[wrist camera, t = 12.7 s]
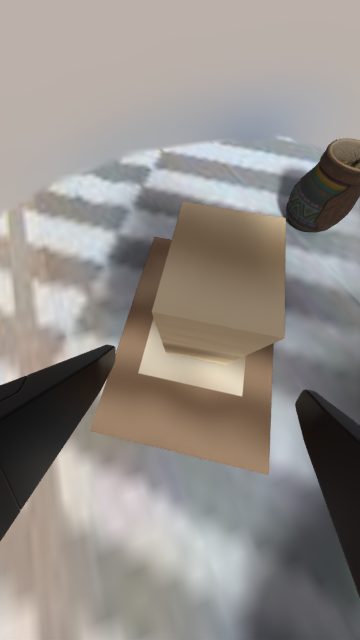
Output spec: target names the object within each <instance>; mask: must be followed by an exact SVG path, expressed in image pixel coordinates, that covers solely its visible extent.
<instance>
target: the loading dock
mask: <svg viewBox="0 0 360 640" xmlns="http://www.w3.org/2000/svg"><path fill="white" fill-rule="evenodd" d="M171 242H172V240H169V239H164V238H158V237H154V240H153V243H152V246H151V249H150V252H149V255H148V258H147V261H146V264H145V267H144V270H143V273H142V276H141V279H140V282H139V285H138V288H137V291H136V294H135V297H134V300H133V303H132V306H131V309H130V312H129V315H128V318H127V321H126V324H125V327H124V330H123V333H122V336H121V339H120V342H119V345H118V348H117V351H116V354H115V364H114V366H113V368H112V370H111V372H110V374H109V375H108V378H107V381H106V384H105V387H104V390H103V393H102V396H101V399H100V402H99V405H98V408H97V411H96V414H95V417H94V420H93V423H92V426H91V429H90V431H93V432H97V433H101V434H105V435H109V436H113V437H117V438H121V439H125V440H129V441H133V442H137V443H142V444H146V445H150V446H154V447H158V448H162V449H166V450H170V451H174V452H178V453H182V454H186V455H190V456H194V457H198V458H202V459H206V460H210V461H214V462H218V463H222V464H226V465H230V466H234V467H239V468H243V469H247V470H251V471H255V472H259V473H263V474H267V475H269V453H270V426H271V398H272V371H273V344H271V345H268V346H266V347H264V348H262V349H260V350H257V351H255V352H253V353H251V354H249V355H246V356H244V357H242V358H240V359H238V360H235V361H233V362H231V363H229V364H227V365H220V364H215V363H211V362H206V361H201V360H196V359H192V358H187V357H182V356H177V355H173V354H168V353H166V352H165V349H164V346H163V343H162V340H161V338H160V335H159V332H158V329H157V326H156V323H155V320H154V317H153V314H152V309H153V305H154V302H155V298H156V295H157V291H158V288H159V284H160V280H161V277H162V273H163V270H164V266H165V263H166V259H167V256H168V252H169V249H170V245H171Z"/></svg>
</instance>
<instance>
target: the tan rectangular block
mask: <svg viewBox="0 0 360 640" xmlns="http://www.w3.org/2000/svg"><path fill="white" fill-rule="evenodd" d="M285 243H286V218H282V217H276V216H270V215H263V214H257V213H251V212H245V211H239V210H232V209H226V208H220V207H214V206H208V205H201V204H195V203H189V202H183V203H182V206H181V210H180V213H179V217H178V220H177V224H176V227H175V231H174V235H173V238H172V242H171V245H170V249H169V252H168V256H167V259H166V263H165V266H164V270H163V273H162V277H161V280H160V284H159V288H158V291H157V295H156V298H155V302H154V305H153V309H152V314H153V317H154V320H155V323H156V326H157V329H158V332H159V335H160V338H161V340H162V343H163V346H164V349H165V352H166V353H168V354H173V355H177V356H182V357H187V358H192V359H196V360H201V361H206V362H211V363H215V364H220V365H227V364H229V363H231V362H233V361H235V360H238V359H240V358H242V357H244V356H246V355H249V354H251V353H253V352H255V351H257V350H260V349H262V348H264V347H266V346H268V345H271V344H273V343H275V342H277V341H279V340H282V339H284V332H285Z"/></svg>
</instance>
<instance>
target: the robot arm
mask: <svg viewBox="0 0 360 640" xmlns="http://www.w3.org/2000/svg"><path fill="white" fill-rule="evenodd" d="M114 364H115V347H114V346H111V345H104V346H102V347H99V348H97V349H94V350H91V351H89V352H86V353H84V354H81V355H78V356H76V357H73V358H71V359H68V360H66V361H63V362H60V363H58V364H55V365H53V366H50V367H47V368H45V369H42V370H40V371H37V372H34V373H32V374H29V375H28V376H24V377H21V378H19V379H16V380H14V381H11V382H8V383H5V384H3V385H0V541H1V540H2V538H3V537H4V535H5V534H6V532H7V531H8V529H9V528H10V526H11V525H12V523H13V522H14V520H15V519H16V517H17V516H18V514H19V513H20V511H21V510H20V509H22V508H23V506H24V505H25V503H26V502H27V500H28V499H29V497H30V496H31V494H32V493H33V491H34V490H35V488H36V487H37V485H38V484H39V482H40V481H41V479H42V478H43V476H44V475H45V473H46V472H47V470H48V469H49V467H50V466H51V464H52V463H53V461H54V460H55V458H56V457H57V455H58V454H59V452H60V451H61V449H62V448H63V446H64V445H65V443H66V442H67V440H68V439H69V437H70V436H71V434H72V433H73V431H74V430H75V428H76V427H77V425H78V424H79V422H80V421H81V419H82V418H83V416H84V415H85V413H86V412H87V411H88V409H89V408H90V406H91V405H92V403H93V402H94V400H95V399H96V397H97V395H98V394H99V392H100V391H101V389H102V387H103V385H104V383H105V381H106V379H107V377H108V375H109V374H110V372H111V370H112V368H113V366H114ZM295 406H296V411H297V415H298V419H299V423H300V427H301V431H302V435H303V438H304V442H305V445H306V448H307V451H308V454H309V457H310V459H311V462H312V465H313V468H314V471H315V473H316V476H317V479H318V482H319V485H320V488H321V490H322V493H323V496H324V499H325V502H326V504H327V507H328V510H329V513H330V516H331V519H332V521H333V524H334V527H335V530H336V533H337V535H338V538H339V541H340V544H341V547H342V550H343V552H344V555H345V558H346V561H347V564H348V566H349V569H350V572H351V575H352V578H353V581H354V583H355V586H356V589H357V592H358V595H359V597H360V425H359V424H357V423H356V422H355V421H353V420H352V419H351V418H349V417H348V416H347V415H345V414H344V413H343V412H341V411H340V410H339V409H337V408H336V407H335V406H333V405H332V404H331V403H329V402H328V401H327V400H325V399H324V398H323V397H321V396H320V395H319V394H317V393H316V392H314V391H311V390H303V391H302V393H301V394H300V396H299V398H298V399H297V401H296V404H295Z"/></svg>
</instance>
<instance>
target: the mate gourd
mask: <svg viewBox="0 0 360 640" xmlns="http://www.w3.org/2000/svg"><path fill="white" fill-rule="evenodd" d="M359 197H360V140H356V139H339V140H335V141H333V142H332V143H331V144H329V146H328V147H327V149H326V151H325V152H324V154H323V155H322V157H321V159H320V162H319V163H318V164H317V165H316V166H315V167H314V168H313V169H312V170H310V171H309V172H308V173H307V174H306V175H304V176H303V177H302V178H301V179H300V181H299V182H298V183H297V184H296V185H295V186H294V189H293V190H292V192H291V194H290V198H289V201H288V203H287V207H286V210H287V217H288V219H289V221H290V223H291V224H292V225H293V226H294V227H295V228H297V229H298V230H301V231H304V232H320V231H325V230H327V229H329V228H330V227H332V226H334V225H335V224H337V223H338V222H339V221H341V220H342V219H343V218H344V217H345V216H346V215H347V214H348V213H349V212H350V211H351V209H352V208H353V206H354V205H355V203H356V201H357V200H358V198H359Z"/></svg>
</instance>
